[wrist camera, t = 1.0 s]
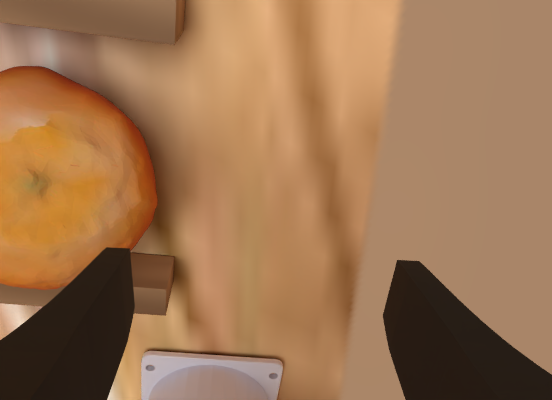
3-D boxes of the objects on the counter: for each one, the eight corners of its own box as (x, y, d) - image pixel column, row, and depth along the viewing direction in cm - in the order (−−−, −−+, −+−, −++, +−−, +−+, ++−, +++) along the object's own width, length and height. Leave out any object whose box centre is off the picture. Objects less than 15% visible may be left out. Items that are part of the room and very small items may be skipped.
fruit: (-81, 215, 21) (-184, 240, 14) (16, 60, 22) (-30, 4, 14) (93, 293, 24) (88, 351, 16) (174, 152, 25) (205, 145, 17)
